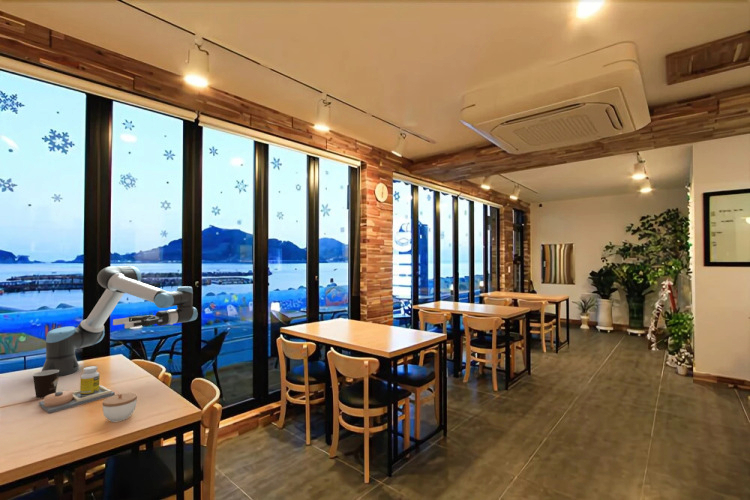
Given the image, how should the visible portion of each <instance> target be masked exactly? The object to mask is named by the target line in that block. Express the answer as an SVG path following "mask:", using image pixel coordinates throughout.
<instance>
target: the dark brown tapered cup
mask: <svg viewBox="0 0 750 500" xmlns="http://www.w3.org/2000/svg"><path fill="white" fill-rule="evenodd" d="M59 377H60V376H59V370H47V371H42V370H40V371H38V372H35V373H33V375H32V378H33V384H34V392H35V393H34V394H35V398H37V399H44V397H45V396H47V395H49V394H52V393H56V392H57V387H58V383H59V382H58V380H59Z"/></svg>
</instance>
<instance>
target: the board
mask: <svg viewBox="0 0 750 500" xmlns="http://www.w3.org/2000/svg"><path fill="white" fill-rule="evenodd" d="M113 395H116V393H115V392H114V391H113V390H111V389H109V388H107V387H106V386H104V385H102V384H99V392H98V393H97V394H94V395H90V396H81V395H80V390H75V391H71V390H61V391H56V393H52V394H49V395H47V396H45V397H44V398H43V400H42V401H39V404H38V405H39V407H40V408H42V409H43V410H44V411H46V412H47V413H48V414H52V413H55V412H60V411H62V410H66V409H70V408H73V407H74V408H75V407H77V406H81V405H84V404H85V405H86V404H88V403H93V402H95V401H100V400H104V399H106V398H108V397H110V396H113Z"/></svg>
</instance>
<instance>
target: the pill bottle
mask: <svg viewBox="0 0 750 500" xmlns="http://www.w3.org/2000/svg"><path fill="white" fill-rule="evenodd" d="M97 370H98V366H97V365H92V366H86V367H84V368H83V373H82V374H81V376H80V387H79V388H80V395H81V396H90V395H94V394H97V393H98V392H99V385H100V373H99V372H98V371H97Z"/></svg>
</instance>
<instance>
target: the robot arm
mask: <svg viewBox="0 0 750 500" xmlns="http://www.w3.org/2000/svg"><path fill="white" fill-rule="evenodd" d="M96 277H97V278H96V280H97V282H98V284H99V285H100V286H101V287H102V288H103V289H105V290H104V292H103V293H102V295H101V297H100V298H99V299H98V301H97V303H96V304H95V306H93V309H92V310H91V312H90V313H89V315H88V316H87V318H86V319H83V320H82V321H80V323H79V324H78V326H77V327H75V326H73V325H72V326H62V327H58V328H54V329H51V330H49V331H48V332H47V333H46V338H45V347H46V348H45V362H44V363H43V366H42V368H41V371H47V370H59V376H58V377H60V376H62V377H63V376H67V375H71V374H73V373H74V374H75V373H77V372H79V370H80V365H79V363H78V360H77V356H76V350H77V349H81V348H86V347H90V346H94V345H97V344H98V343H100V342H101V341H103V339H104V337H105V334H106V333H105V331H106V330H105V325H104V324H105V323H106V322H107V320H108V318H109V317H110V316H111V314H112V313H113V311H114V310H115V308H116V306H117V304H118V303H119V302H120V301H121V299H122V297H123V296H124V294H128V295H130V296H134V297H136V298H139V299H142V300H144V301H147V302H151V303H154V305H155V306H156V307H157V308H159V309H167V308H170V307H175V306H176V309H175V308H174V309H167V310H159V311H157V312H156V314H155V315H153V314H148V315H138V316H128V317H124V318H123V317H122V318H115V319H114V318H113V320H112V326H119V325H124V329H130V328H138V327H139V328H140V327H150V326H154V325H157V326H158V327H161V326H166V325H170V326H173V325H174V324H180V323H188V322H193V321H195V320H197V318H198V315H199V313H198V309H197V308H196V307H194V306H193V303H194V301H193V299H194V295H193V294H194V292H193V287H192V286H188V285H187V286H186V285H185V286H178V287H177V289H176V291H168V290H164V289H163V288H162V289H161V288H159V287H155V286H153V285H150V284H148V283H144V282H142V273H141V271H140V269H139V268H137V267H136V266H133V265H125V266H123V265H120V266H117V265H116V266H114V265H112V266H107V267H104V268H103V269H101V270H100V271H99V272H98V274H97V276H96Z"/></svg>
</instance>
